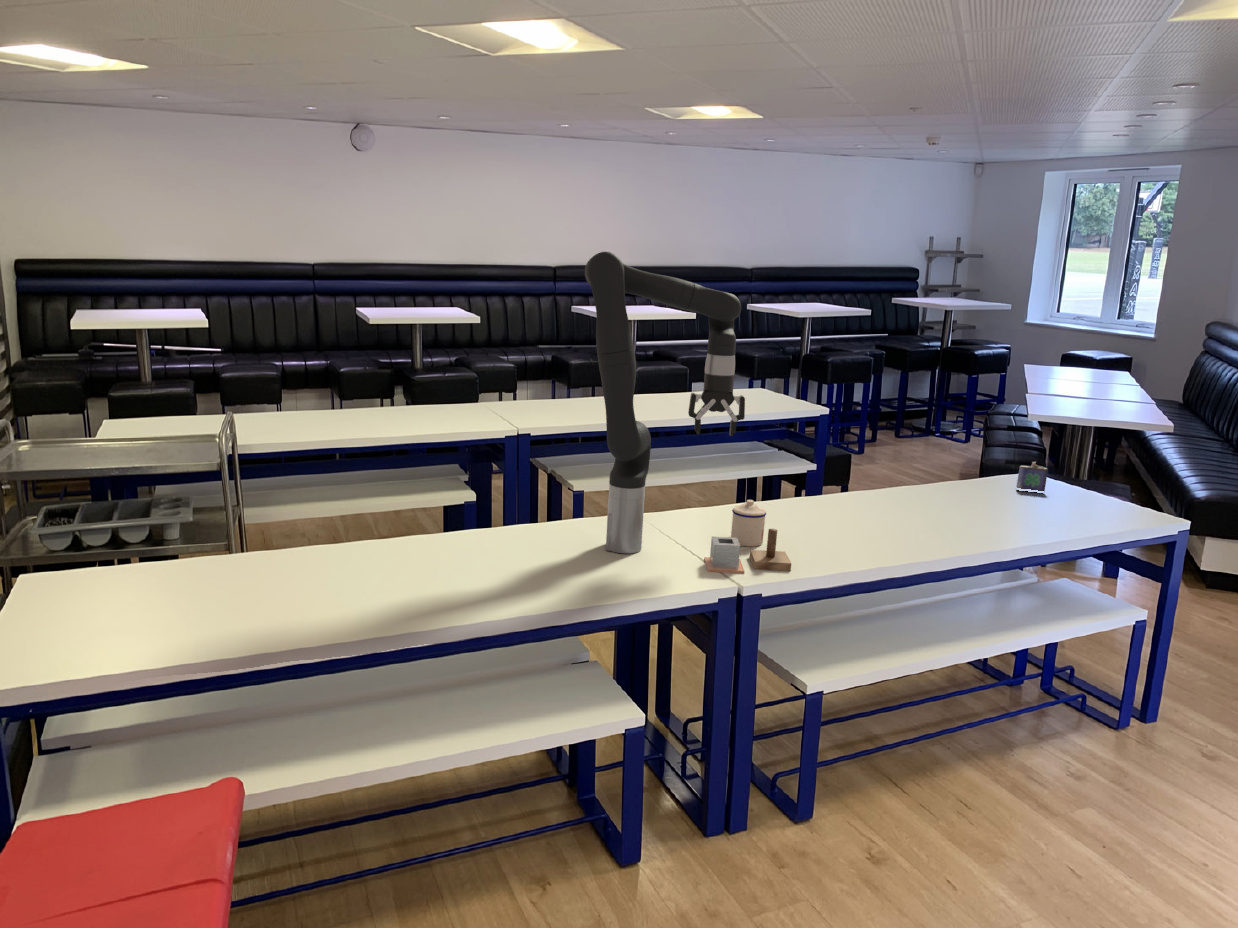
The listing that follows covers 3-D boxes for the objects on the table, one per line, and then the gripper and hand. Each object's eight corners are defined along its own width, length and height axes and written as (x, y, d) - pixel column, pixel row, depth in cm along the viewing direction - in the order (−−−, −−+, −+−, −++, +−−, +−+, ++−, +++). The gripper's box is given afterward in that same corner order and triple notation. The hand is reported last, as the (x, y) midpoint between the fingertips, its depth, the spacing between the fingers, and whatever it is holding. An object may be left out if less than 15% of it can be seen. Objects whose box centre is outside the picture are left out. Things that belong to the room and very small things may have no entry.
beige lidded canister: (769, 546, 248) (773, 504, 245) (737, 548, 245) (741, 505, 243) (750, 532, 259) (754, 492, 256) (720, 534, 257) (723, 493, 254)
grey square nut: (712, 567, 228) (714, 544, 226) (709, 559, 234) (711, 536, 232) (738, 569, 228) (740, 545, 226) (735, 560, 234) (737, 537, 232)
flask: (1016, 491, 322) (1021, 461, 320) (1015, 489, 325) (1019, 459, 323) (1044, 494, 320) (1049, 464, 318) (1043, 492, 323) (1048, 462, 320)
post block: (754, 569, 230) (757, 534, 228) (749, 557, 239) (752, 523, 237) (790, 570, 230) (794, 536, 228) (784, 558, 239) (787, 525, 237)
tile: (707, 571, 226) (707, 569, 226) (704, 559, 235) (704, 557, 235) (744, 573, 226) (744, 571, 226) (739, 561, 235) (739, 558, 235)
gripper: (692, 372, 232) (688, 436, 236) (749, 375, 232) (744, 438, 236) (690, 368, 239) (686, 430, 243) (745, 371, 239) (740, 433, 243)
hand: (714, 434), depth 239 cm, fingers open, 8 cm apart
